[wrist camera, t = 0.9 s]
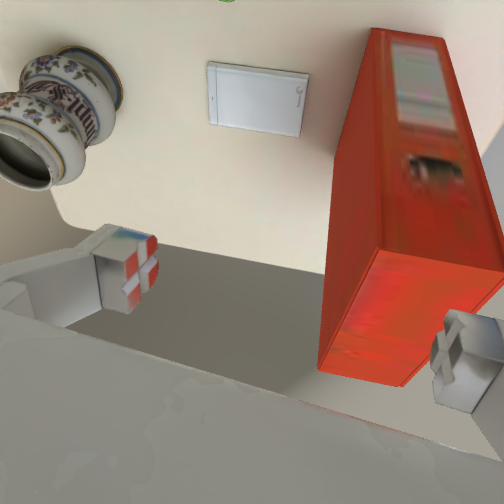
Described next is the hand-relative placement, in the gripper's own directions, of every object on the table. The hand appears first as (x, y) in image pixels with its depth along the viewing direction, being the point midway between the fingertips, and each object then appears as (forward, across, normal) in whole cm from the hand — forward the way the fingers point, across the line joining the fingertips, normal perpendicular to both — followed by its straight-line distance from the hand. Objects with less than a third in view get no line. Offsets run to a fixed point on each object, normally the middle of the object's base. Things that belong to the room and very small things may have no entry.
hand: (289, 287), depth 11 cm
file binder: (+45, -3, +4) cm, 46 cm away
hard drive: (+44, +13, +5) cm, 46 cm away
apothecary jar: (+42, +36, +6) cm, 55 cm away
